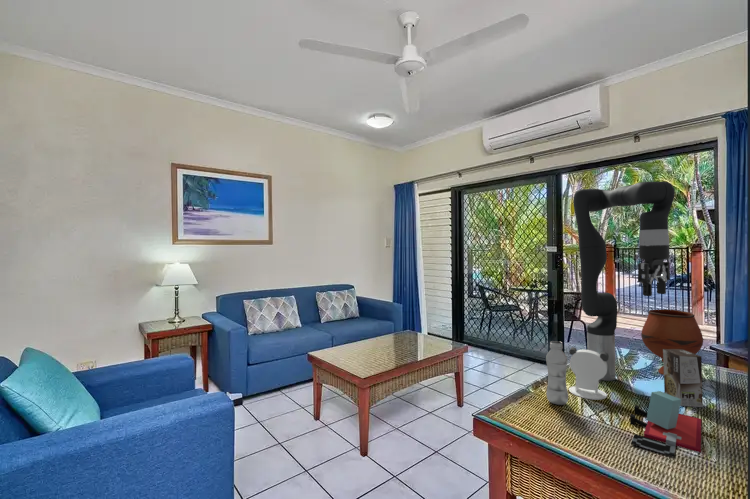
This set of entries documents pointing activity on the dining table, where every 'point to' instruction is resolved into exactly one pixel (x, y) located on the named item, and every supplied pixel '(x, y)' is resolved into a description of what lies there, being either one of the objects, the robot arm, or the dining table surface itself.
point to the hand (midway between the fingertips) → (654, 294)
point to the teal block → (663, 409)
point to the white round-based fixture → (588, 373)
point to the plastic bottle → (556, 374)
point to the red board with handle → (668, 434)
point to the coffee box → (683, 376)
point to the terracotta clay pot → (671, 332)
